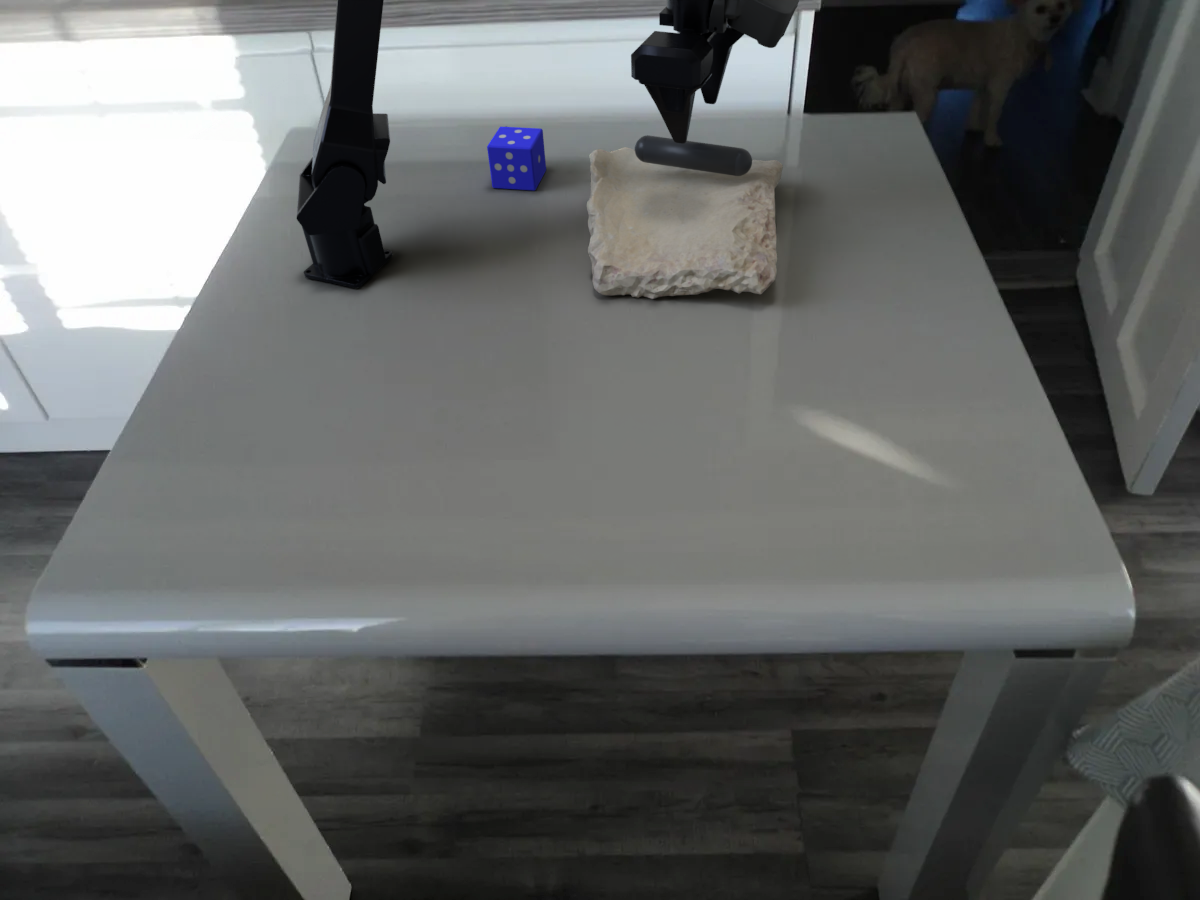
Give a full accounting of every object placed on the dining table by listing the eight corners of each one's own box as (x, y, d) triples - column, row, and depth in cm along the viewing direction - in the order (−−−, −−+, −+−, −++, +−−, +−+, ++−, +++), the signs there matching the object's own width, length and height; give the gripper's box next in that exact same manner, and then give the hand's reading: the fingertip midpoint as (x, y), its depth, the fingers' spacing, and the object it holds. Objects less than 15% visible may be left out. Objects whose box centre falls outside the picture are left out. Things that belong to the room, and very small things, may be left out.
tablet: (559, 303, 85) (775, 303, 81) (546, 231, 81) (775, 226, 76) (610, 188, 103) (789, 183, 98) (601, 123, 98) (790, 114, 94)
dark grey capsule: (632, 166, 92) (629, 146, 90) (641, 147, 93) (638, 128, 91) (748, 183, 88) (747, 163, 86) (755, 164, 89) (755, 144, 87)
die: (535, 191, 100) (531, 148, 97) (492, 188, 101) (486, 145, 97) (546, 170, 104) (542, 128, 100) (504, 168, 104) (499, 125, 101)
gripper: (764, -16, 68) (750, 177, 79) (820, -81, 80) (801, 94, 91) (626, -27, 72) (631, 160, 82) (700, -88, 84) (695, 82, 95)
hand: (695, 122), depth 87 cm, fingers open, 9 cm apart
